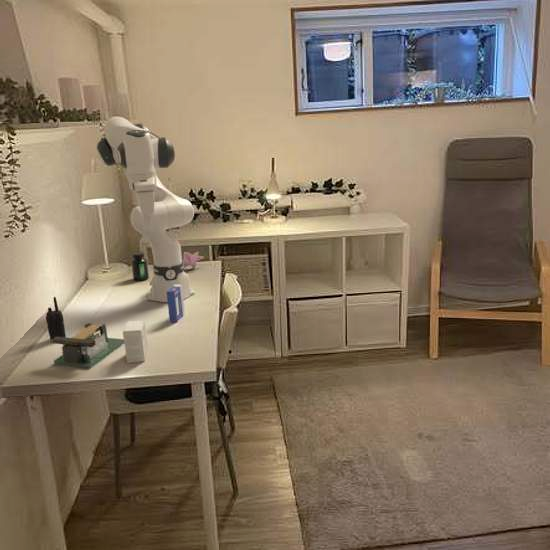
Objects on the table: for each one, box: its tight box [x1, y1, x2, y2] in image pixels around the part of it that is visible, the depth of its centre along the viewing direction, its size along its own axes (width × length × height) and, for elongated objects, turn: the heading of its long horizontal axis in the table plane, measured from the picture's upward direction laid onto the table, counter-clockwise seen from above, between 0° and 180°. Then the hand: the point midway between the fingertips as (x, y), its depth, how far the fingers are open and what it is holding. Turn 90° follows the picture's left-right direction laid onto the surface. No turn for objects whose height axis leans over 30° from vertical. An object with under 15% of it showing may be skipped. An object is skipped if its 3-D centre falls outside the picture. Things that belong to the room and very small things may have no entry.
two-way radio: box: [45, 296, 67, 340], centre depth 189 cm, size 6×4×15 cm
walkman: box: [167, 285, 186, 323], centre depth 204 cm, size 8×3×12 cm, turn 167°
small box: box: [122, 320, 149, 364], centre depth 174 cm, size 8×6×10 cm
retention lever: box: [52, 324, 100, 347], centre depth 176 cm, size 1×14×12 cm
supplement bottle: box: [130, 251, 150, 282], centre depth 252 cm, size 7×7×12 cm
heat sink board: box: [53, 322, 125, 369], centre depth 178 cm, size 19×13×8 cm
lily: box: [182, 251, 205, 273], centre depth 262 cm, size 12×12×10 cm
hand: (147, 224), depth 186 cm, fingers closed
